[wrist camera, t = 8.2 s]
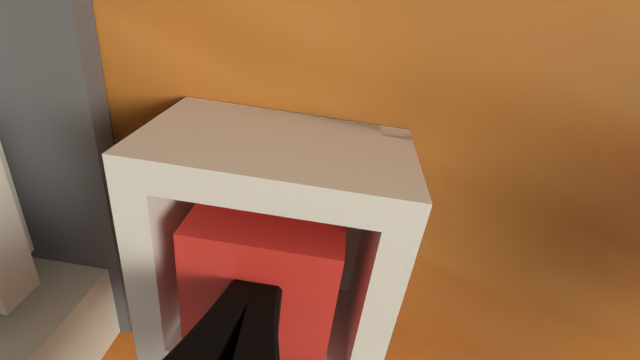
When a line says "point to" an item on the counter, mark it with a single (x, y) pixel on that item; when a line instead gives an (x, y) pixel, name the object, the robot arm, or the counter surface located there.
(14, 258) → the carriage
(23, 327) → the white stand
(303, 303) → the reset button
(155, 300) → the box
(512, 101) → the counter surface
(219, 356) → the robot arm
